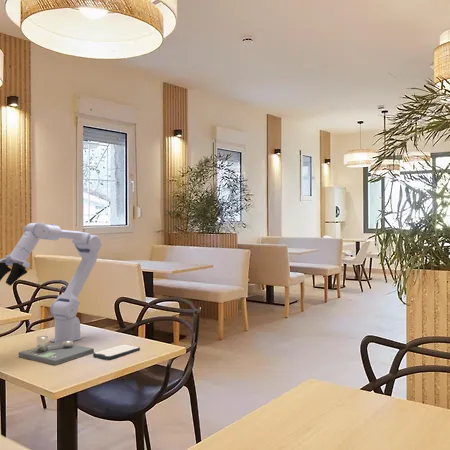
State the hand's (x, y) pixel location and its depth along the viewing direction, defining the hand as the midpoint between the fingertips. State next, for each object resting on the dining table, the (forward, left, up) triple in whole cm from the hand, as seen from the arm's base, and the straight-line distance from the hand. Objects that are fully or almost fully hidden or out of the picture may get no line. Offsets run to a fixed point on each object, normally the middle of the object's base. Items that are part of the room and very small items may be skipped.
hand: (1, 283), depth 170 cm
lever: (-12, +11, -24) cm, 29 cm away
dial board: (-12, +14, -26) cm, 32 cm away
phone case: (-24, +31, -27) cm, 48 cm away
